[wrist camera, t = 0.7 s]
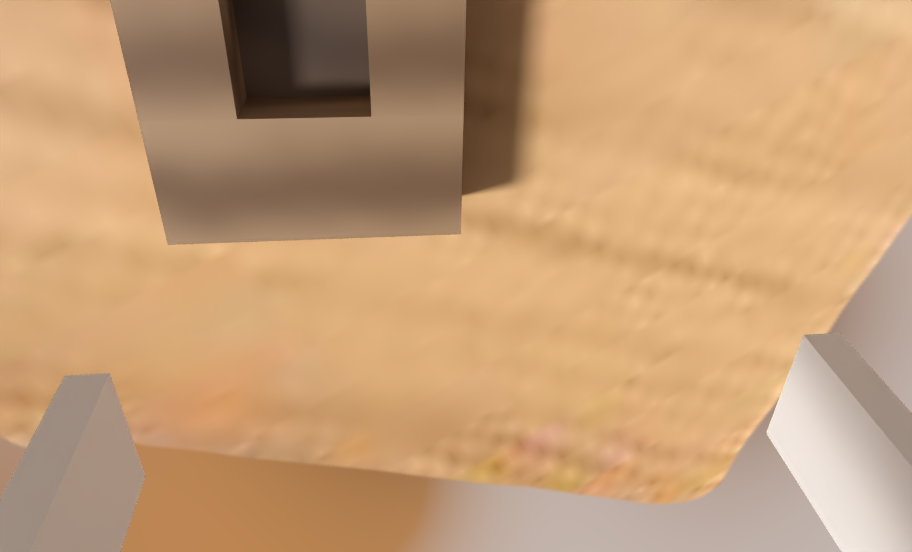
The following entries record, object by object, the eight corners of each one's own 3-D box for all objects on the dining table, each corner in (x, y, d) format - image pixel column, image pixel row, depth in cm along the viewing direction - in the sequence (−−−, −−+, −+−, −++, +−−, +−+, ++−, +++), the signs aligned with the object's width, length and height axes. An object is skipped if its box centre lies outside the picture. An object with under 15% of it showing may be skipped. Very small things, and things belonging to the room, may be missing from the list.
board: (96, -214, 27) (58, -220, 23) (459, -205, 28) (471, -209, 25) (186, 206, 36) (168, 244, 33) (452, 198, 38) (460, 234, 34)
